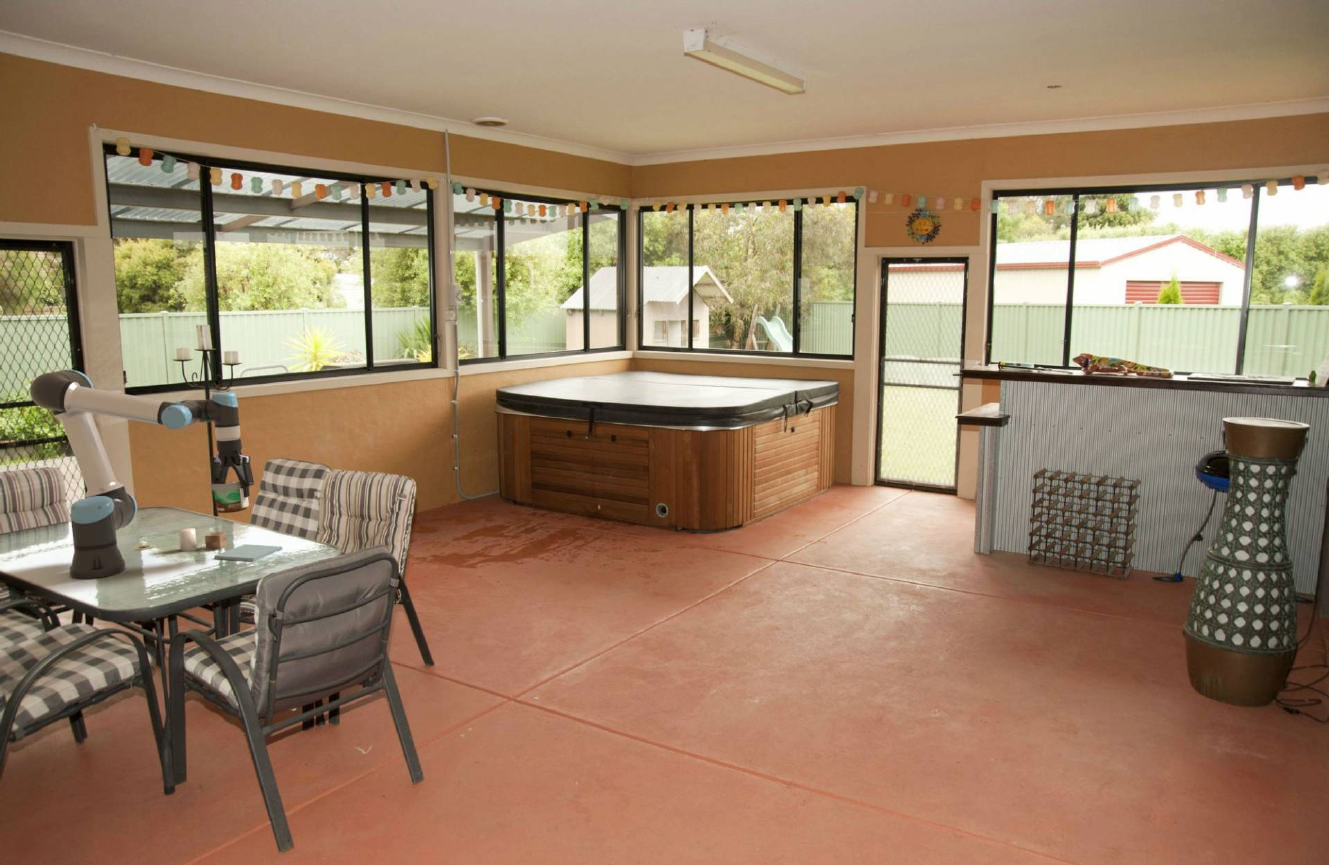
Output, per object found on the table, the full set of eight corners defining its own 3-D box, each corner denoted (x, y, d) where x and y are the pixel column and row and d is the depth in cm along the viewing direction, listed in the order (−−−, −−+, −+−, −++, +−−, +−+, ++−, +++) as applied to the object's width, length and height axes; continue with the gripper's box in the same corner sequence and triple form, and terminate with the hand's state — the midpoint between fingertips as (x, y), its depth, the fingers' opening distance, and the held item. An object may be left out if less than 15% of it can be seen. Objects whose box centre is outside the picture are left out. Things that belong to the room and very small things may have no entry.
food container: (222, 515, 305) (219, 485, 303) (213, 513, 308) (210, 483, 307) (258, 508, 314) (255, 479, 313) (248, 506, 318) (246, 477, 317)
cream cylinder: (177, 550, 320) (175, 531, 319) (188, 547, 325) (186, 527, 324) (189, 551, 319) (188, 531, 318) (200, 547, 324) (198, 528, 323)
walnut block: (206, 549, 321) (204, 535, 321) (212, 546, 326) (211, 532, 326) (220, 549, 321) (219, 535, 321) (227, 545, 326) (226, 532, 326)
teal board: (214, 558, 310) (214, 555, 309) (244, 547, 324) (244, 544, 324) (253, 561, 306) (253, 558, 306) (282, 549, 320) (282, 546, 320)
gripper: (262, 437, 309) (268, 504, 312) (211, 437, 314) (217, 503, 317) (246, 440, 302) (253, 509, 305) (194, 440, 307) (201, 508, 310)
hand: (235, 506), depth 311 cm, fingers closed on food container, 7 cm apart
